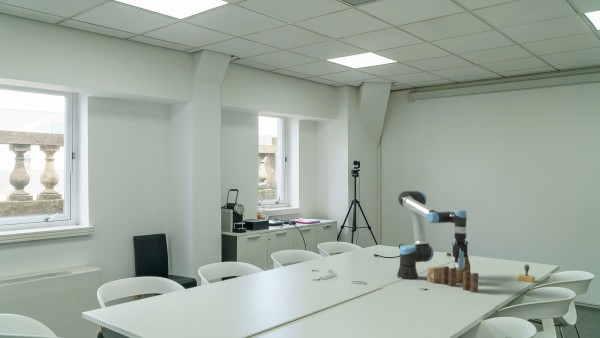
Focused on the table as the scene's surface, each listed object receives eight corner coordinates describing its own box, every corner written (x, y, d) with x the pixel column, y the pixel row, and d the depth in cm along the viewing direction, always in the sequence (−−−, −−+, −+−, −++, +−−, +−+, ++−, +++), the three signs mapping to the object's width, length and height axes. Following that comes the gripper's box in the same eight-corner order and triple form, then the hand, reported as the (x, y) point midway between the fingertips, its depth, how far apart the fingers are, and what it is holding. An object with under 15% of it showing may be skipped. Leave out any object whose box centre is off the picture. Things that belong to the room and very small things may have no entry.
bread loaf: (460, 284, 324) (461, 255, 324) (452, 281, 331) (453, 253, 331) (471, 282, 329) (472, 254, 329) (463, 280, 336) (464, 253, 336)
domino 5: (470, 291, 303) (470, 273, 303) (475, 290, 306) (475, 272, 306) (473, 292, 302) (473, 274, 302) (478, 291, 304) (478, 273, 304)
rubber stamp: (534, 281, 339) (535, 264, 339) (533, 282, 334) (533, 266, 335) (520, 279, 345) (520, 263, 345) (518, 280, 341) (518, 264, 341)
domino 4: (462, 289, 308) (463, 271, 309) (467, 288, 311) (468, 271, 311) (465, 290, 307) (465, 272, 307) (470, 289, 309) (470, 271, 309)
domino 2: (448, 285, 319) (448, 268, 319) (453, 284, 321) (453, 267, 321) (450, 286, 317) (451, 269, 317) (455, 285, 319) (456, 268, 319)
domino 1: (441, 283, 324) (441, 266, 324) (446, 283, 326) (446, 266, 326) (444, 284, 322) (444, 267, 322) (448, 283, 324) (449, 266, 325)
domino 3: (456, 269, 313) (456, 251, 314) (460, 268, 316) (461, 251, 316) (458, 270, 312) (459, 252, 312) (463, 269, 314) (463, 251, 314)
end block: (427, 281, 330) (427, 267, 330) (438, 279, 337) (438, 265, 337) (433, 283, 325) (433, 269, 325) (445, 281, 332) (445, 267, 332)
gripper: (456, 234, 306) (455, 269, 306) (473, 232, 316) (473, 266, 316) (447, 232, 313) (446, 267, 312) (464, 231, 322) (463, 264, 322)
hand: (459, 266), depth 314 cm, fingers closed on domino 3, 5 cm apart
